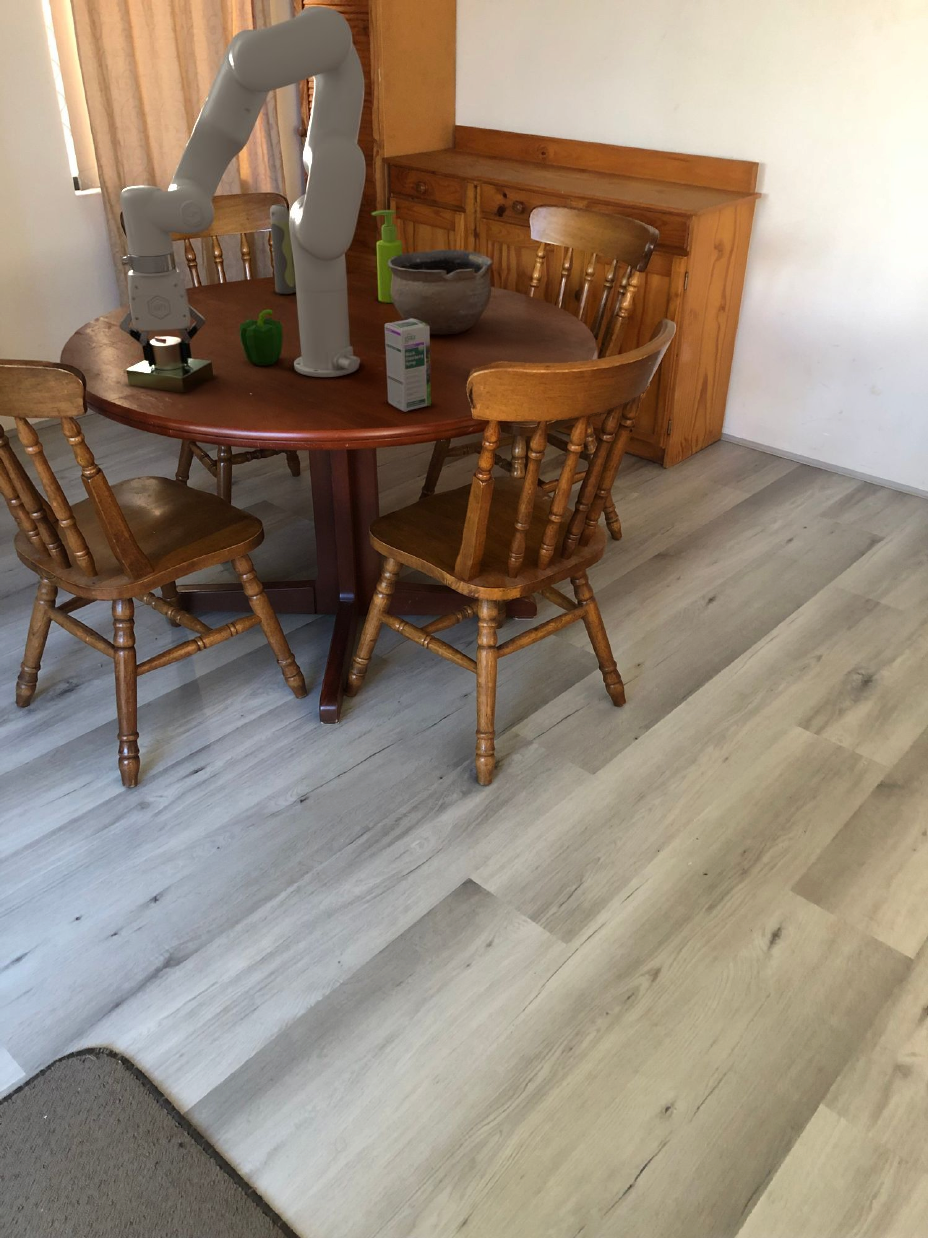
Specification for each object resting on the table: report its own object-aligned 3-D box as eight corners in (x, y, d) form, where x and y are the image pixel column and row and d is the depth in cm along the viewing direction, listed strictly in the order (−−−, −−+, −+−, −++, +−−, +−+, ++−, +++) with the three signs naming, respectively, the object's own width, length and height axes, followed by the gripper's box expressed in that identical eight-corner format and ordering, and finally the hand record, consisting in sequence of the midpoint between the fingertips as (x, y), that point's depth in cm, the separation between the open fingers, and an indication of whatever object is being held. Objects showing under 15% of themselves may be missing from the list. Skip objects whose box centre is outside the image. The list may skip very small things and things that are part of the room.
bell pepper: (245, 370, 188) (239, 318, 183) (240, 357, 195) (235, 307, 189) (288, 367, 190) (283, 315, 185) (282, 354, 197) (278, 304, 191)
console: (213, 376, 185) (211, 360, 183) (184, 393, 177) (181, 376, 175) (160, 368, 188) (157, 352, 187) (128, 385, 180) (125, 368, 179)
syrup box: (404, 412, 170) (402, 329, 162) (386, 402, 174) (384, 321, 166) (431, 406, 173) (430, 324, 165) (413, 396, 177) (411, 316, 169)
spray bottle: (271, 292, 236) (263, 204, 226) (286, 288, 240) (278, 201, 229) (285, 295, 234) (278, 207, 223) (300, 291, 237) (293, 204, 226)
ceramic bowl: (430, 351, 199) (430, 276, 191) (370, 326, 213) (367, 255, 205) (511, 332, 211) (513, 260, 203) (448, 310, 225) (449, 242, 217)
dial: (191, 363, 182) (187, 338, 179) (167, 371, 178) (163, 345, 175) (171, 358, 184) (167, 332, 182) (147, 365, 180) (143, 340, 178)
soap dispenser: (371, 297, 233) (367, 209, 222) (397, 295, 236) (395, 207, 225) (379, 304, 229) (376, 213, 218) (406, 301, 231) (405, 211, 220)
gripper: (100, 270, 166) (120, 372, 176) (203, 265, 170) (216, 366, 180) (103, 260, 172) (122, 360, 182) (202, 255, 176) (215, 354, 186)
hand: (168, 362), depth 181 cm, fingers closed on dial, 5 cm apart
